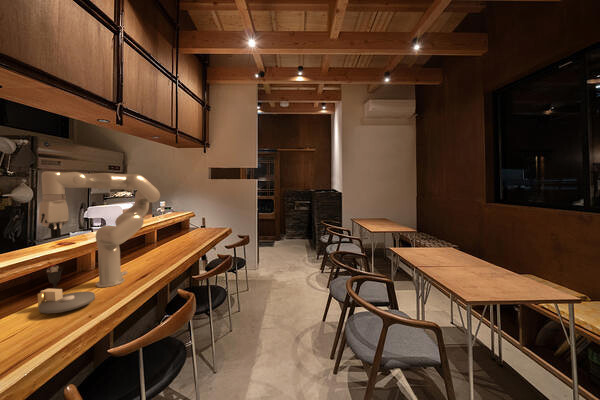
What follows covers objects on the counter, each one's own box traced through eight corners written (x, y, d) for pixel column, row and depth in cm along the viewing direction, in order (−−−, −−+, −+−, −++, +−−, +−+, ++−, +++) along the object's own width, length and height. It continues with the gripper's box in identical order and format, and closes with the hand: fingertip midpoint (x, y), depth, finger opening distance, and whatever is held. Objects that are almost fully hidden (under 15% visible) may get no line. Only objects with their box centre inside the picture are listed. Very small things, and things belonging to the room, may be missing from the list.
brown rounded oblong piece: (56, 302, 117) (55, 287, 117) (85, 304, 115) (84, 288, 115) (36, 310, 109) (35, 294, 109) (67, 312, 107) (66, 296, 107)
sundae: (42, 291, 129) (41, 262, 128) (59, 287, 135) (57, 259, 134) (50, 293, 126) (49, 263, 126) (67, 288, 133) (65, 260, 132)
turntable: (34, 304, 111) (33, 291, 110) (86, 290, 125) (86, 279, 125) (44, 317, 99) (43, 304, 99) (100, 301, 113) (100, 289, 113)
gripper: (62, 197, 127) (64, 234, 128) (28, 199, 112) (30, 240, 113) (76, 197, 126) (78, 234, 127) (44, 199, 111) (46, 240, 112)
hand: (56, 237), depth 120 cm, fingers closed
